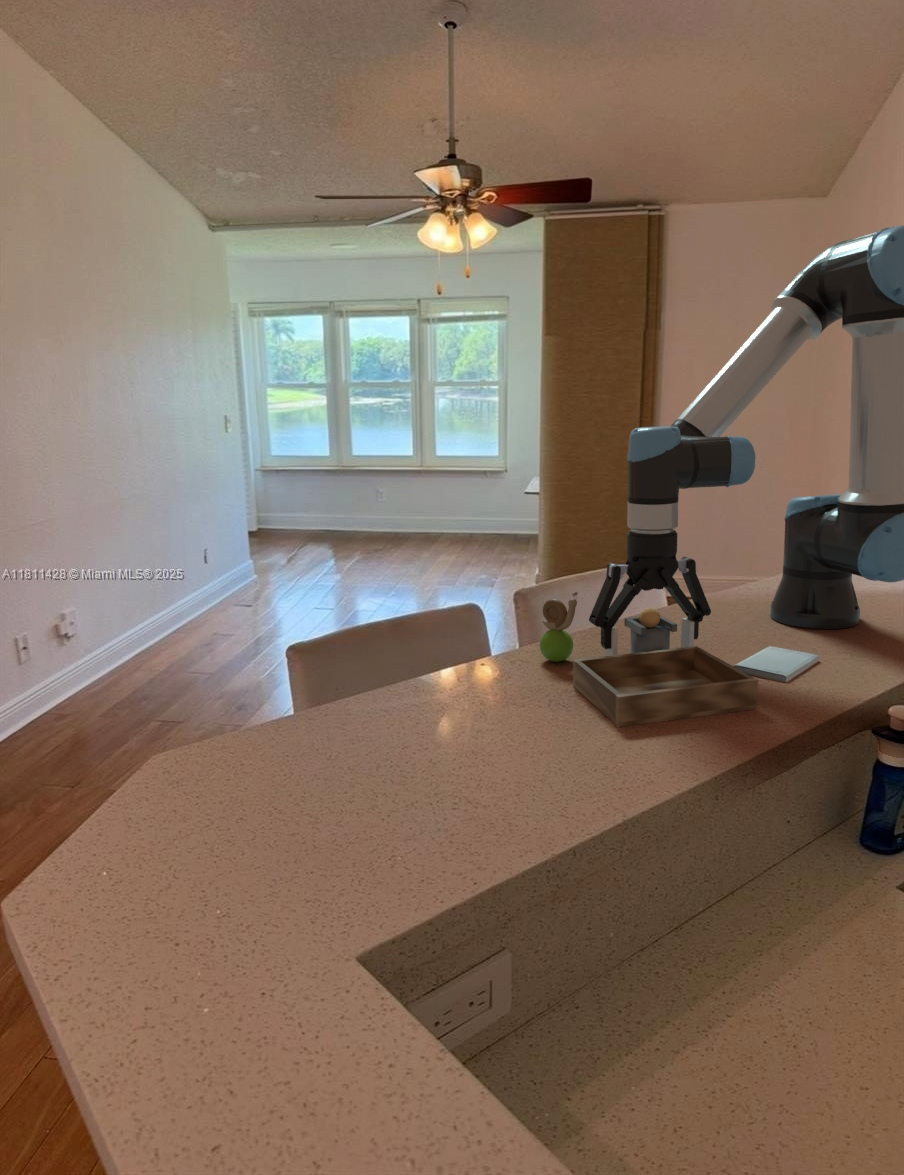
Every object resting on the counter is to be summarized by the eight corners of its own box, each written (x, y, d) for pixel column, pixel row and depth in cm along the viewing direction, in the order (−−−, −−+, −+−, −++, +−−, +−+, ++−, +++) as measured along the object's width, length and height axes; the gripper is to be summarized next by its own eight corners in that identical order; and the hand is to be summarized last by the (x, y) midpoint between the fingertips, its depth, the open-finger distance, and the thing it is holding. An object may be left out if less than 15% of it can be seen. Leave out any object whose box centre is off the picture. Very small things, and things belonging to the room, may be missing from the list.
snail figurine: (568, 669, 125) (568, 595, 123) (533, 662, 129) (532, 591, 126) (584, 660, 130) (584, 588, 127) (550, 653, 133) (549, 584, 131)
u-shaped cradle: (658, 657, 130) (659, 614, 128) (676, 668, 124) (677, 624, 122) (624, 660, 129) (624, 618, 127) (640, 672, 123) (641, 627, 121)
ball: (654, 627, 127) (653, 607, 127) (664, 628, 124) (663, 607, 124) (635, 627, 126) (635, 607, 126) (645, 628, 123) (645, 608, 123)
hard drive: (786, 675, 116) (819, 654, 124) (733, 664, 122) (767, 644, 130) (786, 686, 116) (818, 664, 125) (732, 674, 122) (767, 654, 130)
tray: (695, 671, 122) (696, 646, 121) (756, 708, 107) (757, 680, 106) (573, 686, 118) (573, 659, 117) (618, 726, 103) (618, 697, 102)
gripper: (711, 520, 127) (706, 648, 132) (567, 531, 122) (568, 663, 127) (737, 527, 120) (731, 662, 125) (586, 539, 115) (586, 679, 120)
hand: (649, 663), depth 126 cm, fingers open, 12 cm apart
